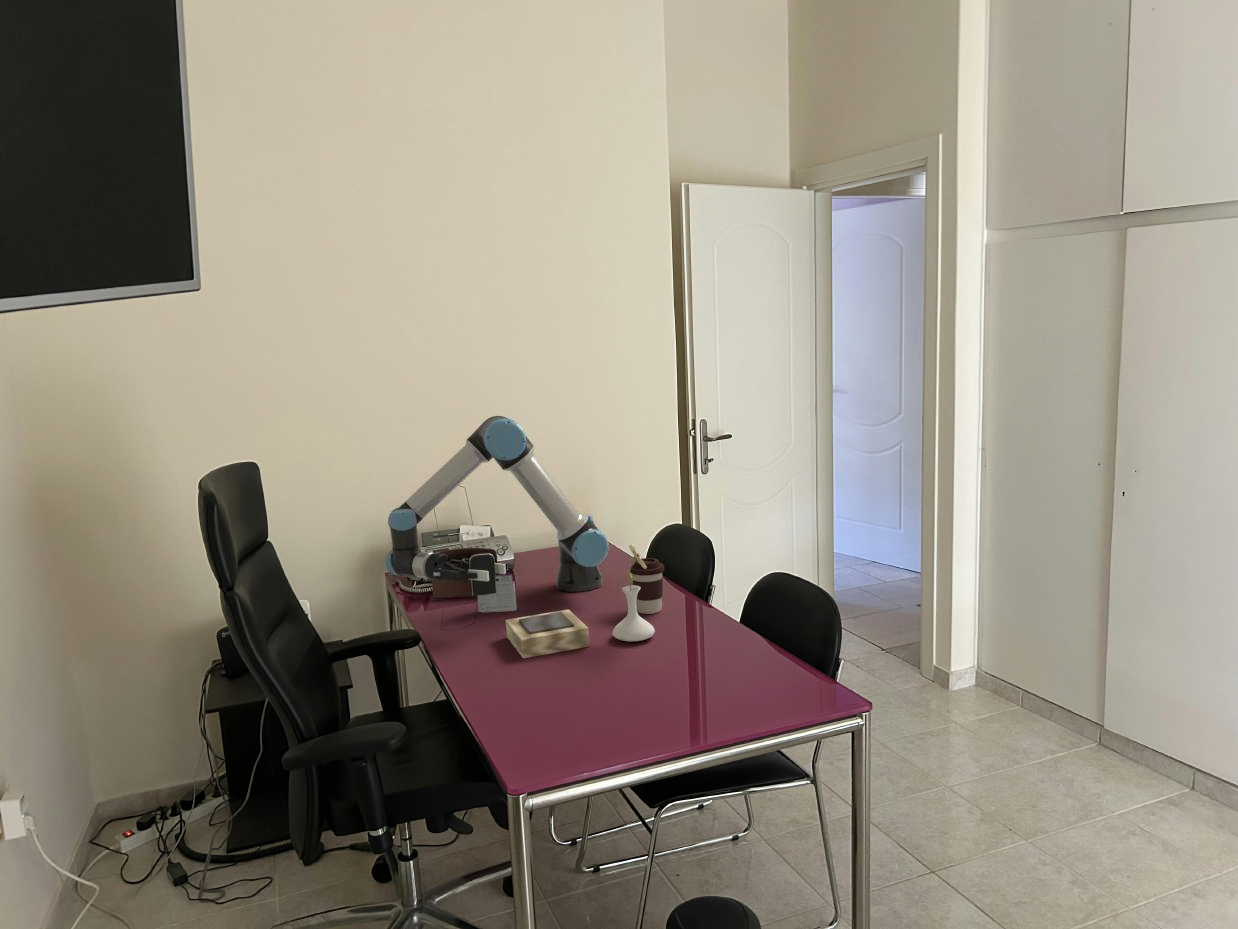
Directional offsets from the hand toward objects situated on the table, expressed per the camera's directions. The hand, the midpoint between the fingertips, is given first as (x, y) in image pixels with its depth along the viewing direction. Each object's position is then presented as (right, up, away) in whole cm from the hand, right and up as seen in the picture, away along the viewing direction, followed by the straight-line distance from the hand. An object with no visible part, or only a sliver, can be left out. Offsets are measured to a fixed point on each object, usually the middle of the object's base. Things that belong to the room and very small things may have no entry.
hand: (496, 572), depth 250 cm
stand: (+14, -18, -5) cm, 24 cm away
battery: (-4, -6, +4) cm, 8 cm away
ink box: (-3, -15, +24) cm, 29 cm away
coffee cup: (+42, -13, +16) cm, 47 cm away
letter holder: (-16, -12, +46) cm, 50 cm away
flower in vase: (+38, -17, -6) cm, 42 cm away
